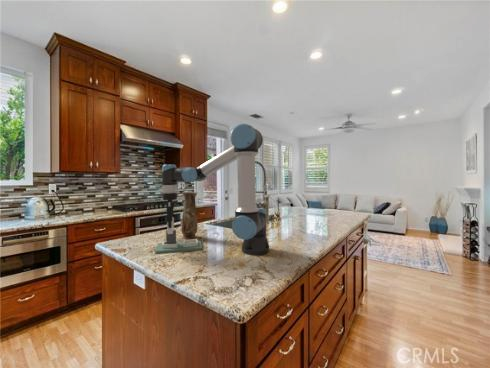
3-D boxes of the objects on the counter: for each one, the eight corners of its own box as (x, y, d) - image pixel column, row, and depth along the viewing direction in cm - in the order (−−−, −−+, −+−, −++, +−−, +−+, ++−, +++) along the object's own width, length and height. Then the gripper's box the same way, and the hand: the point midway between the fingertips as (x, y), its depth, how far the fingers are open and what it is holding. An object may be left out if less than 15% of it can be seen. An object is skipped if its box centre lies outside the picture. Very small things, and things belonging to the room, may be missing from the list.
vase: (187, 234, 157) (187, 191, 156) (200, 236, 153) (200, 191, 152) (177, 238, 147) (177, 192, 146) (192, 240, 144) (192, 192, 142)
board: (200, 242, 139) (200, 237, 139) (202, 249, 126) (202, 244, 126) (158, 245, 133) (158, 239, 133) (155, 253, 120) (155, 247, 119)
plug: (176, 244, 131) (176, 228, 130) (175, 246, 127) (175, 229, 126) (166, 245, 129) (166, 228, 129) (166, 247, 126) (166, 230, 125)
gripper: (164, 191, 138) (165, 226, 139) (160, 194, 114) (161, 237, 115) (177, 191, 140) (178, 226, 141) (176, 193, 116) (177, 235, 117)
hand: (170, 231), depth 128 cm, fingers open, 13 cm apart
